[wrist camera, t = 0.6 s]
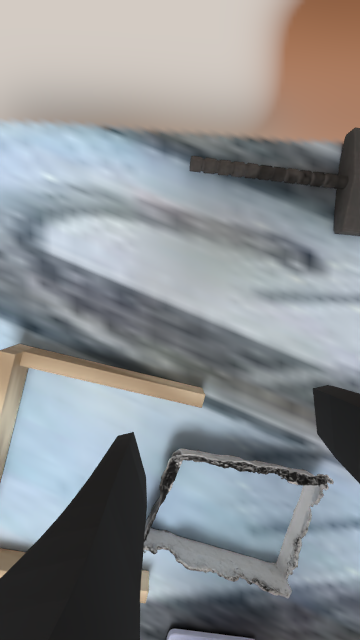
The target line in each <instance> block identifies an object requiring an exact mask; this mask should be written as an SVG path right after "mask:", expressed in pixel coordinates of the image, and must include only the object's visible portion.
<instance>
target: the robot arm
mask: <svg viewBox="0 0 360 640" xmlns="http://www.w3.org/2000/svg"><path fill="white" fill-rule="evenodd" d="M313 395H314V405H315V415H316V425H317V434H318V435H319V437H320V438H321V439H322V441H323V442H324V443H325V445H326V446H327V448H328V449H329V450H330V451H331V453H332V454H333V455H334V457H335V458H336V459H337V460H338V461H339V462H340V463H341V464H342V465H343V466H344V467H345V469H346V470H347V471H348V472H349V473H350V474H351V475H352V476H353V477H354V478H355V479H356V480H357V481H358V482H359V483H360V394H359V393H355V392H352V391H349V390H345V389H342V388H338V387H334V386H329V385H326V386H322V387H318V388H313ZM146 510H147V493H146V475H145V472H144V468H143V464H142V461H141V457H140V453H139V450H138V446H137V443H136V439H135V435H134V432H132V433H128V434H123V435H119V436H117V438H116V439H115V441H114V442H113V444H112V445H111V447H110V448H109V450H108V451H107V453H106V454H105V456H104V457H103V459H102V460H101V462H100V463H99V465H98V466H97V468H96V469H95V470H94V472H93V473H92V475H91V476H90V478H89V479H88V480H87V482H86V483H85V484H84V486H83V487H82V488H81V490H80V491H79V492H78V494H77V495H76V496H75V498H74V499H73V500H72V501H71V503H70V504H69V505H68V507H67V508H66V509H65V510H64V511H63V513H62V514H61V515H60V516H59V517H58V519H57V520H56V521H55V522H54V523H53V524H52V525H51V526H50V528H49V529H48V530H47V531H46V532H45V533H44V534H43V535H42V536H41V538H40V539H39V540H38V541H37V542H36V543H35V544H34V545H33V546H32V547H31V548H30V549H29V550H28V551H27V552H26V553H25V554H24V555H23V556H22V557H21V558H20V559H19V560H18V561H17V562H16V563H15V564H14V565H13V566H12V567H11V568H10V569H9V570H8V571H7V572H6V573H5V574H4V575H3V576H2V577H1V578H0V640H140V591H141V575H142V562H143V549H144V537H145V524H146ZM166 640H255V639H252V638H245V637H237V636H230V635H222V634H214V633H206V632H198V631H191V630H183V629H171V630H170V631H169V633H168V636H167V639H166Z"/></svg>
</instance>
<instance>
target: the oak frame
mask: <svg viewBox="0 0 360 640" xmlns="http://www.w3.org/2000/svg"><path fill="white" fill-rule="evenodd" d="M28 368H33V369H37V370H41V371H45V372H50V373H54V374H58V375H63V376H67V377H71V378H76V379H80V380H84V381H88V382H93V383H97V384H101V385H106V386H110V387H114V388H119V389H123V390H127V391H131V392H136V393H140V394H144V395H149V396H153V397H157V398H162V399H166V400H170V401H174V402H179V403H183V404H187V405H192V406H196V407H200V408H202V405H203V401H204V398H205V393H204V391H203V389H202V388H200V387H196V386H192V385H188V384H184V383H179V382H175V381H171V380H167V379H163V378H159V377H155V376H150V375H146V374H142V373H138V372H134V371H130V370H126V369H121V368H117V367H113V366H109V365H105V364H101V363H97V362H93V361H88V360H84V359H80V358H76V357H72V356H68V355H64V354H59V353H55V352H51V351H47V350H43V349H39V348H35V347H30V346H26V345H22V344H17V345H15V346H12V347H9V348H6V349H3V350H0V482H1V478H2V474H3V470H4V465H5V461H6V457H7V453H8V449H9V445H10V441H11V437H12V433H13V429H14V425H15V421H16V416H17V412H18V408H19V404H20V400H21V396H22V392H23V388H24V384H25V380H26V376H27V372H28ZM25 553H26V552H21V551H15V550H8V549H2V548H0V578H1V577H2V576H3V575H4V574H5V573H6V572H7V571H8V570H9V569H10V568H11V567H12V566H13V565H14V564H15V563H16V562H17V561H18V560H19V559H20V558H21V557H22V556H23V555H24V554H25ZM148 592H149V571H145V570H142V575H141V591H140V603H145V602H146V599H147V595H148Z"/></svg>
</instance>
